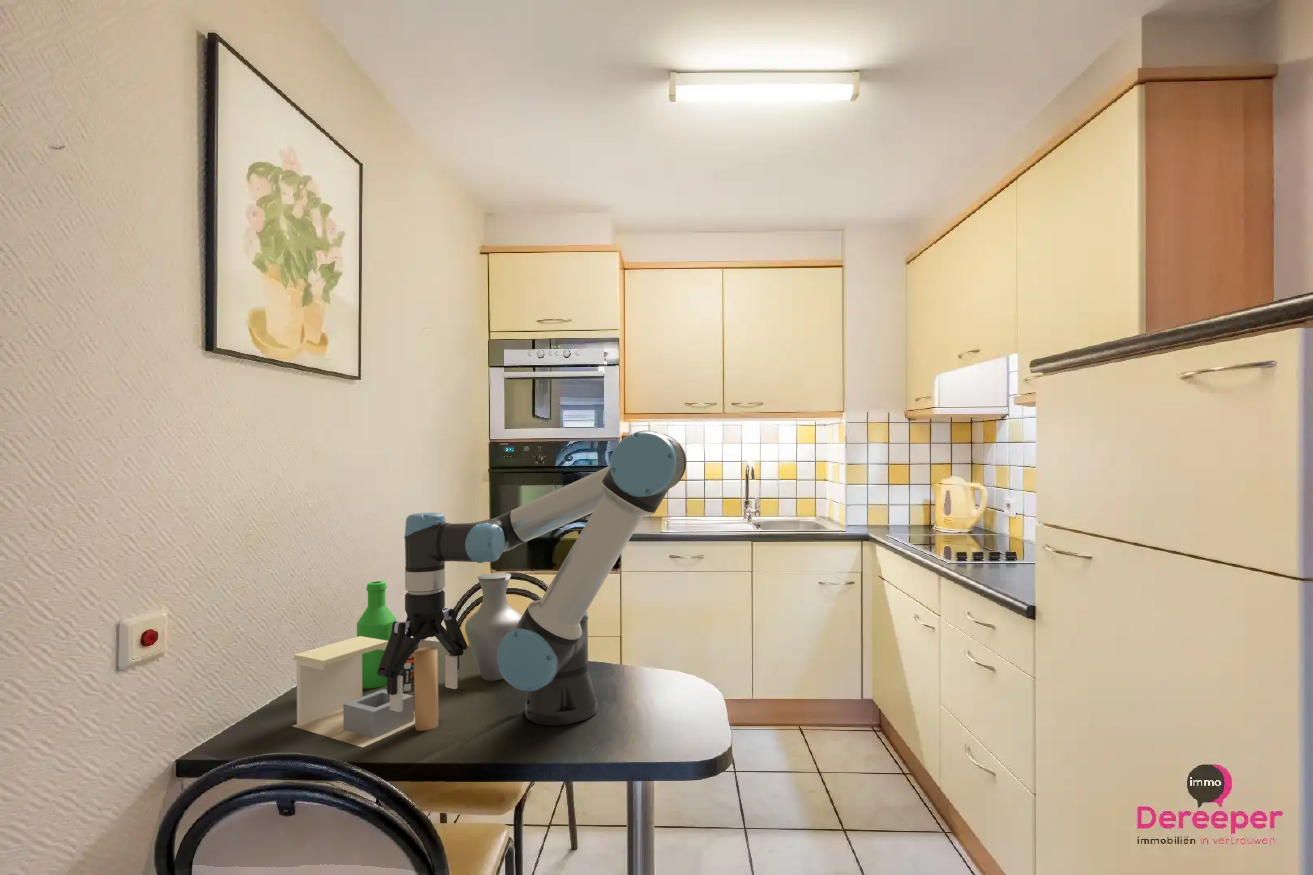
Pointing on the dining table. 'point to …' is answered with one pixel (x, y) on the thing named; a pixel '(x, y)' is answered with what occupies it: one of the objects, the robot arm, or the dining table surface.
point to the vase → (491, 624)
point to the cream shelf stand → (331, 676)
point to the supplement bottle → (408, 672)
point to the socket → (376, 714)
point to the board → (335, 729)
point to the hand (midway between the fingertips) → (425, 698)
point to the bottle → (375, 633)
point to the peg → (426, 688)
